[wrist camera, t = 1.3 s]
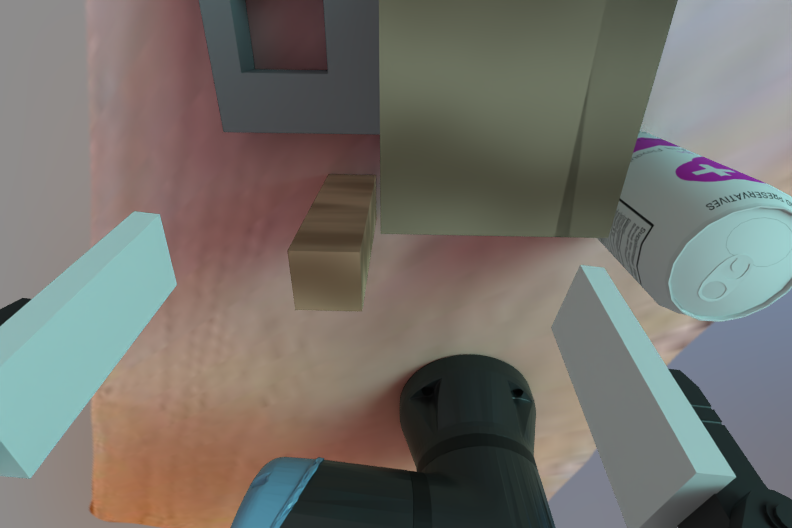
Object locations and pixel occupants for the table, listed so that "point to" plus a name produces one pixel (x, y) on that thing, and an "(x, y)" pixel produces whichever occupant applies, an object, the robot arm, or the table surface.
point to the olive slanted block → (512, 112)
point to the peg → (335, 245)
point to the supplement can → (701, 233)
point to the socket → (297, 74)
